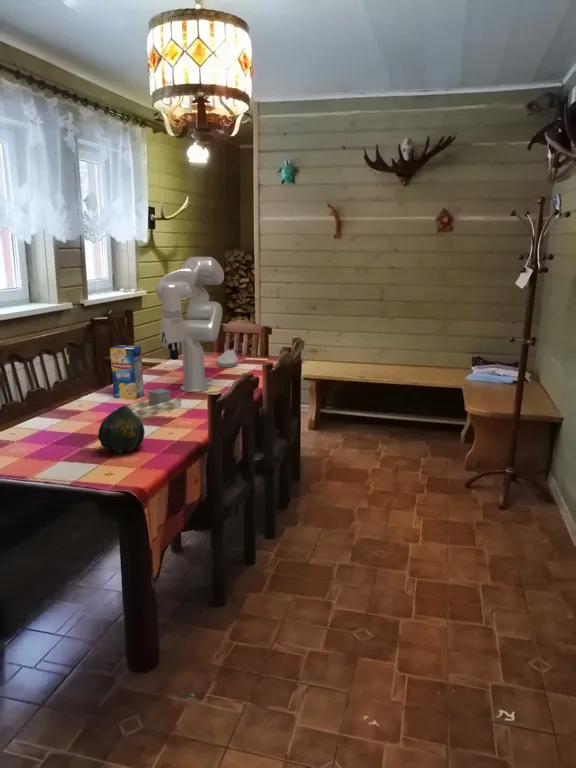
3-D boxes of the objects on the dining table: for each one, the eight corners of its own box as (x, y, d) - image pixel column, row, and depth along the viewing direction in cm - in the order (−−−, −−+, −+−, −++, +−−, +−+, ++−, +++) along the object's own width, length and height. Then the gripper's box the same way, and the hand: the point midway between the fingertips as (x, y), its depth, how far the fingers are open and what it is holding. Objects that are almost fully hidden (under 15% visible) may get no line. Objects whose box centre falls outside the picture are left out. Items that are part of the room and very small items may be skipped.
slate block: (160, 402, 249) (160, 388, 248) (170, 404, 245) (170, 390, 244) (149, 405, 244) (148, 391, 243) (159, 408, 241) (158, 393, 239)
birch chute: (165, 403, 253) (165, 395, 252) (181, 406, 248) (180, 398, 247) (114, 418, 233) (113, 409, 232) (129, 422, 228) (129, 413, 227)
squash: (92, 444, 188) (122, 405, 190) (87, 432, 202) (115, 396, 203) (129, 468, 194) (158, 430, 196) (122, 454, 208) (149, 419, 209)
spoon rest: (236, 369, 317) (235, 355, 315) (214, 369, 318) (213, 355, 316) (242, 360, 340) (242, 347, 338) (221, 360, 341) (221, 347, 339)
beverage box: (136, 399, 260) (133, 349, 255) (113, 397, 263) (109, 348, 257) (144, 395, 266) (140, 346, 261) (121, 393, 269) (118, 345, 264)
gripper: (179, 311, 251) (181, 355, 256) (151, 315, 240) (154, 361, 244) (192, 313, 247) (194, 357, 251) (164, 317, 235) (166, 363, 240)
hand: (174, 359), depth 248 cm, fingers closed
